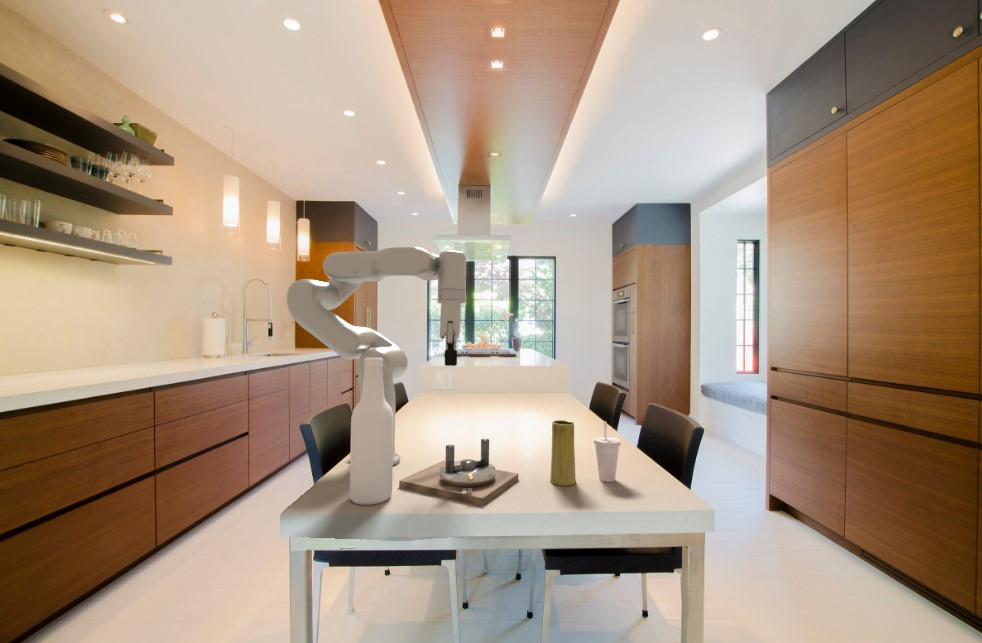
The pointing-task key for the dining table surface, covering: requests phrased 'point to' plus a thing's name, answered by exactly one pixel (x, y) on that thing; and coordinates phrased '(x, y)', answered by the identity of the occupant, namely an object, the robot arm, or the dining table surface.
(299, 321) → the robot arm
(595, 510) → the dining table surface
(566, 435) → the vase
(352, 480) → the alcohol
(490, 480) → the dial
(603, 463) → the smoothie
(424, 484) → the stand board
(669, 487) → the dining table surface
